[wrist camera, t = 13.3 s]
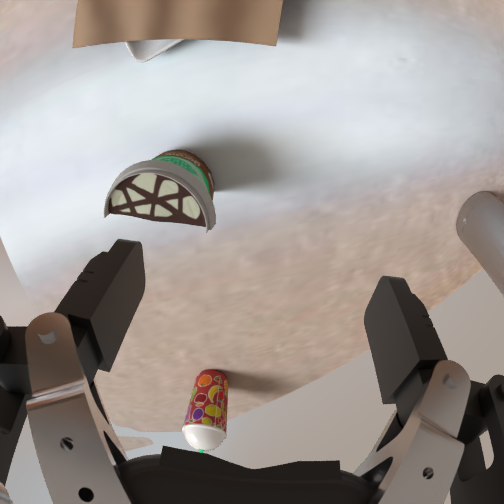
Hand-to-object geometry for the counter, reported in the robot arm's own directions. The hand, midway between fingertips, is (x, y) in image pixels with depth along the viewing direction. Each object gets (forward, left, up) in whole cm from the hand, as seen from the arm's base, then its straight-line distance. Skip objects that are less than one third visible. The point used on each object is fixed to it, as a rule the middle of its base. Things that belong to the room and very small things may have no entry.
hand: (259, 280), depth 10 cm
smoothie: (+4, +50, -28) cm, 58 cm away
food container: (+10, +6, -28) cm, 31 cm away
